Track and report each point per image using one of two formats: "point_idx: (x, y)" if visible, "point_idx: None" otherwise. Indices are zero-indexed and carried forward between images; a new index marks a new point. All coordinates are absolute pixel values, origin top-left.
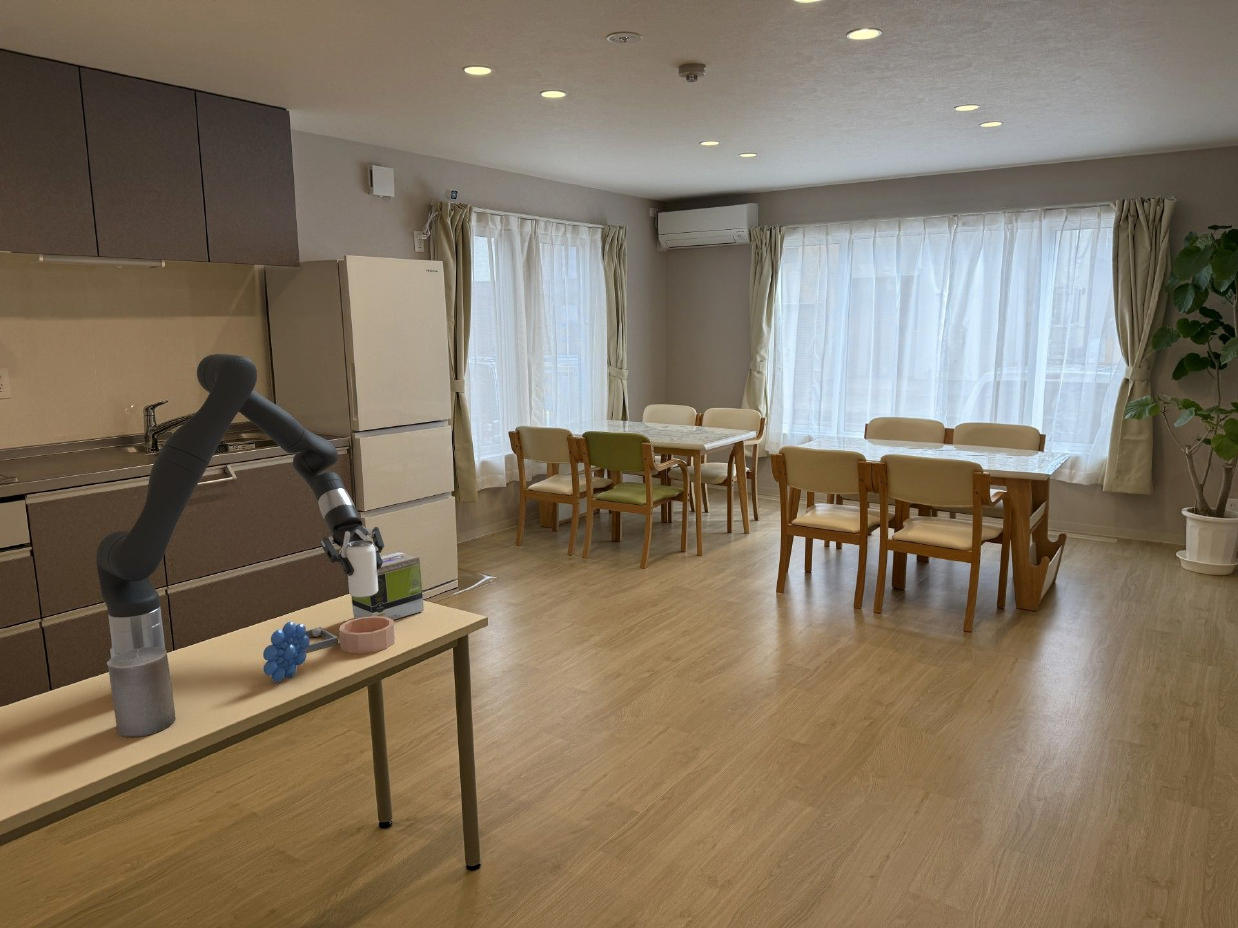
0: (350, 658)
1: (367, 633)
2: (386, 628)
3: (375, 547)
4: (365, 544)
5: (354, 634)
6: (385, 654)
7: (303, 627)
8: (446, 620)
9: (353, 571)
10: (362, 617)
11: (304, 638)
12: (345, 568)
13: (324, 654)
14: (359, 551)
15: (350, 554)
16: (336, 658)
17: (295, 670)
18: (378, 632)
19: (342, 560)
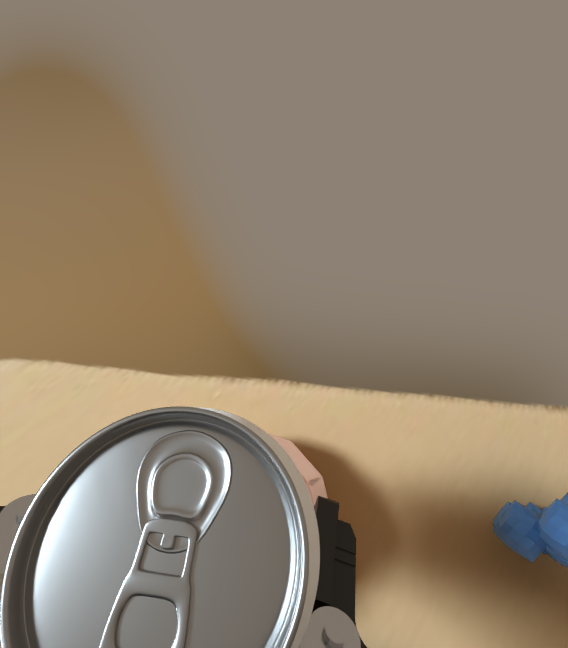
0: (351, 476)
1: (299, 455)
2: None
3: (10, 525)
4: (140, 498)
5: (325, 489)
6: (286, 410)
7: (564, 513)
8: (5, 438)
9: (320, 496)
10: None
11: (532, 518)
12: (354, 552)
13: (372, 583)
14: (278, 453)
15: (319, 542)
16: (372, 516)
17: (529, 504)
18: (272, 435)
19: (354, 616)
